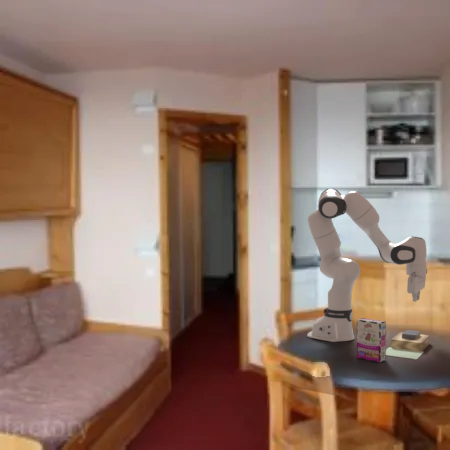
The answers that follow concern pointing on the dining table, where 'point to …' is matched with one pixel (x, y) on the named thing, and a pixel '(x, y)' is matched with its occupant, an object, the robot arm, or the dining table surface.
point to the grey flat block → (411, 334)
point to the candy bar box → (371, 340)
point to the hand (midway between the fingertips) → (416, 300)
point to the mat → (403, 353)
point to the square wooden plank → (410, 342)
